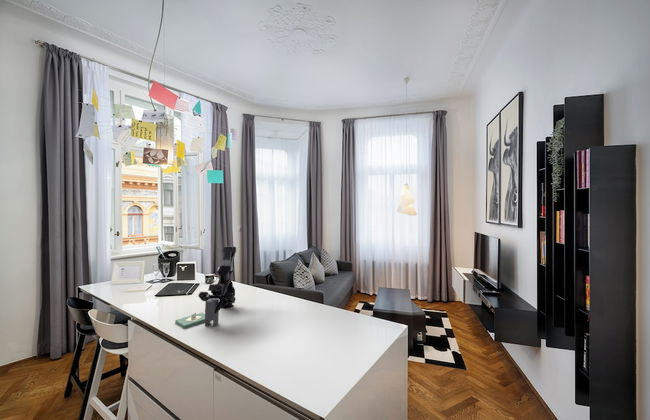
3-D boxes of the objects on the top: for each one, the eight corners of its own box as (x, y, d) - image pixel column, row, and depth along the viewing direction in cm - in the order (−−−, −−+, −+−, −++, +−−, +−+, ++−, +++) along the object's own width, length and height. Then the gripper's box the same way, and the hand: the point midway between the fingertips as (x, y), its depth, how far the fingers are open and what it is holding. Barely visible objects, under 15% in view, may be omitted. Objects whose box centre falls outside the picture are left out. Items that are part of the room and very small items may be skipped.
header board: (201, 315, 147) (202, 308, 147) (211, 319, 141) (211, 312, 141) (175, 323, 136) (175, 315, 136) (184, 328, 130) (184, 320, 130)
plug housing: (209, 322, 137) (210, 298, 138) (218, 323, 137) (218, 299, 137) (204, 325, 133) (205, 301, 134) (214, 326, 133) (214, 301, 133)
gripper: (200, 276, 141) (186, 304, 129) (233, 278, 138) (221, 306, 127) (208, 287, 148) (196, 314, 137) (240, 289, 146) (229, 316, 135)
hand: (210, 312), depth 134 cm, fingers closed on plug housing, 5 cm apart
